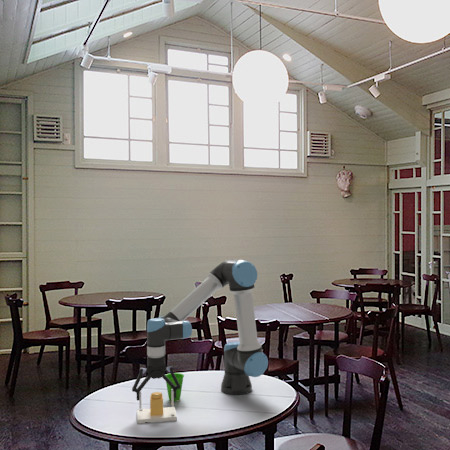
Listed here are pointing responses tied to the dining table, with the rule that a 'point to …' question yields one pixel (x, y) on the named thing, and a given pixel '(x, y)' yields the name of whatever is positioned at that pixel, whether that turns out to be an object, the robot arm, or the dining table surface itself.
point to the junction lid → (145, 415)
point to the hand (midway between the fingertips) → (156, 406)
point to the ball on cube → (156, 404)
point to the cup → (178, 391)
